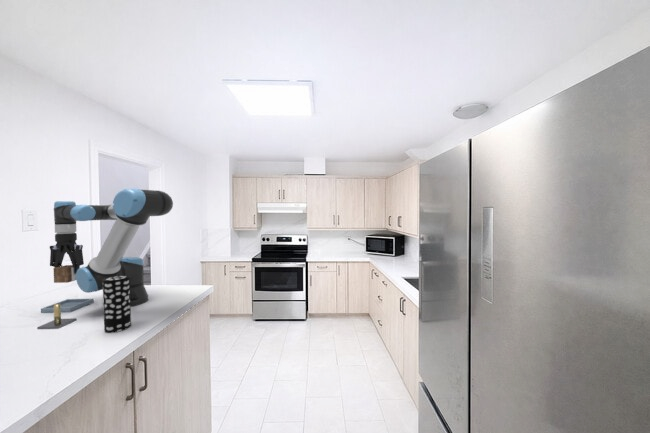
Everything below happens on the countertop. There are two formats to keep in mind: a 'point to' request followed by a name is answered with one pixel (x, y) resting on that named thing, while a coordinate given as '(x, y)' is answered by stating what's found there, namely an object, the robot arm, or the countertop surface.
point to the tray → (68, 305)
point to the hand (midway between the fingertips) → (67, 280)
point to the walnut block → (63, 274)
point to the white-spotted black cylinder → (116, 303)
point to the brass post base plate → (57, 320)
